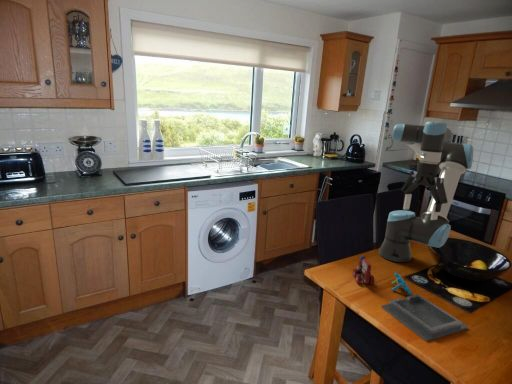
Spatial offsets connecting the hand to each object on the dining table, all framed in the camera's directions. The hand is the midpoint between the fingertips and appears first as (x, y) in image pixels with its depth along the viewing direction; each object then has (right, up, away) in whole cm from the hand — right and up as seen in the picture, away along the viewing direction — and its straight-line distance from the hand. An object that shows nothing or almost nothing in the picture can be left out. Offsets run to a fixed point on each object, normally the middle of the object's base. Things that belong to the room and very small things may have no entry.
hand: (419, 214), depth 137 cm
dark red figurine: (-20, -30, +9) cm, 37 cm away
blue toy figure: (-4, -33, +2) cm, 34 cm away
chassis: (-6, -36, -15) cm, 40 cm away
